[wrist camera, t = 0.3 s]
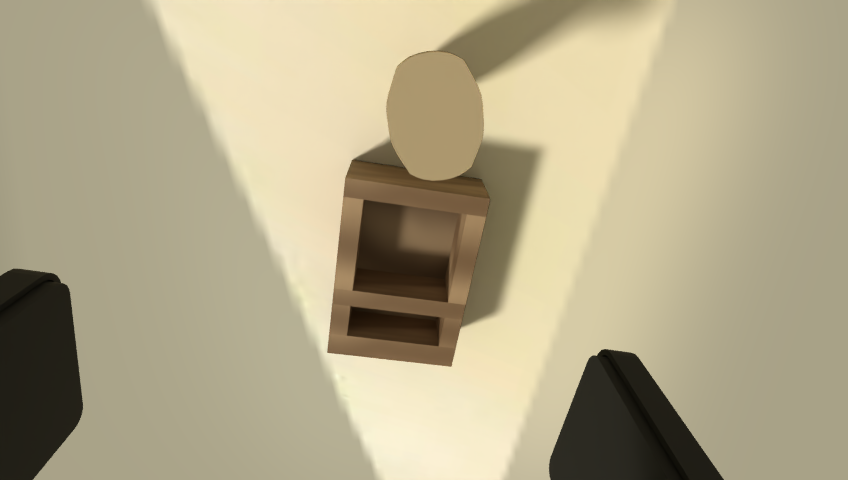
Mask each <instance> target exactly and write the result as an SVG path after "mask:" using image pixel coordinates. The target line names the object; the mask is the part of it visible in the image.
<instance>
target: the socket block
mask: <svg viewBox="0 0 848 480" xmlns="http://www.w3.org/2000/svg"><path fill="white" fill-rule="evenodd" d="M489 203H490V197H489V195H488V193H487V191H486V189H485V186H484V184H483V182H482V180H481V179H476V178H469V177H463V176H456V177H454V178H451V179H445V180H435V181H431V180H423V179H420V178H417V177H415V176H413V175H411V174H410V173H409V172H408V170H407V169H406V168H403V167H397V166H390V165H383V164H377V163H370V162H363V161H357V160H352V162H351V164H350V167H349V170H348V172H347V175H346V178H345V187H344V196H343V206H342V216H341V225H340V235H339V245H338V254H337V264H336V274H335V283H334V293H333V303H332V312H331V322H330V332H329V341H328V351H327V353H335V354H344V355H353V356H362V357H370V358H379V359H388V360H397V361H406V362H415V363H424V364H433V365H441V366H450V367H451V366H452V361H453V357H454V353H455V349H456V344H457V340H458V336H459V331H460V327H461V323H462V318H463V314H464V310H465V306H466V301H467V297H468V293H469V288H470V284H471V280H472V276H473V271H474V267H475V263H476V258H477V254H478V250H479V246H480V241H481V237H482V233H483V228H484V224H485V220H486V216H487V211H488V207H489Z"/></svg>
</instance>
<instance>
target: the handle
mask: <svg viewBox="0 0 848 480" xmlns="http://www.w3.org/2000/svg"><path fill="white" fill-rule="evenodd" d="M386 110H387V119H388V127H389V134H390V139H391V142H392V145H393V148H394V150H395V152H396V153H397V155H398V157H399V158H400V160H401V161H402V163H403V164H404V166H405V167H406V169H407V170H408V172H409V173H410V174H411V175H413V176H415V177H417V178H420V179H423V180H431V181H435V180H445V179H451V178H454V177H456V176H459V175H461V174H462V173H464V172H466V171H467V170H468V169H469V168H471V167H472V164H473V162H474V159H475V157H476V155H477V152H478V150H479V147H480V144H481V141H482V137H483V131H484V119H483V103H482V97H481V93H480V90H479V88H478V85H477V83H476V81H475V79H474V77H473V76H472V74H471V72H470V70H469V68H468V67H467V65H466V63H465V61H464V60H463V59H461V58H460V57H458V56H456V55H454V54H451V53H449V52H443V51H427V52H422V53H418V54H415V55H413V56H410V57H408V58H407V59H405V60H404V61H403V62H401V63H400V64H399V65H398V66H397V68H396V71H395V74H394V78H393V81H392V84H391V87H390V91H389V94H388V99H387V108H386Z"/></svg>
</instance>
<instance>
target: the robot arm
mask: <svg viewBox="0 0 848 480" xmlns="http://www.w3.org/2000/svg"><path fill="white" fill-rule="evenodd" d="M82 410H83V402H82V393H81V385H80V376H79V367H78V359H77V350H76V341H75V333H74V325H73V315H72V307H71V298H70V292H69V288H68V287H67V285H65V284H63V283H61V282H60V279H59V278H58V276H57V275H55V274H52V273H45V272H39V271H31V270H24V269H12V270H10V271H7V272H6V273H4V274H3V275H1V276H0V480H33V479H34V477H35V476H36V475H37V474H38V473H39V471H40V470H41V469H42V468H43V467H44V465H45V464H46V463H47V461H48V460H49V459H50V458H51V457H52V456H53V454H54V453H55V452H56V451H57V449H58V448H59V447H60V446H61V445H62V443H63V442H64V441H65V440H66V438H67V437H68V436H69V435H70V434H71V432H72V431H73V430H74V429H75V427H76V426H77V424H78V422H79V420H80V418H81V415H82ZM549 474H550V478H551V480H724V479H723V478H722V477H721V475H720V474H719V472H718V471H717V469H716V468H715V466H714V465H713V464H712V462H711V461H710V459H709V458H708V456H707V455H706V454H705V452H704V451H703V449H702V448H701V446H700V445H699V444H698V442H697V441H696V439H695V438H694V436H693V435H692V434H691V432H690V431H689V429H688V428H687V426H686V425H685V424H684V422H683V421H682V419H681V418H680V416H679V415H678V414H677V412H676V411H675V409H674V408H673V406H672V405H671V404H670V402H669V401H668V399H667V398H666V396H665V395H664V394H663V392H662V391H661V389H660V388H659V386H658V385H657V384H656V382H655V381H654V379H653V378H652V376H651V375H650V374H649V372H648V371H647V369H646V368H645V366H644V365H643V363H642V362H641V361H640V359H639V358H638V357H637V356H636V355H635V354H633V353H629V352H622V351H614V350H607V349H604V350H601V351H600V352H599V353H598V355H597V356H591V357H590V358H589V360H588V362H587V364H586V367H585V370H584V372H583V375H582V378H581V380H580V383H579V385H578V388H577V390H576V393H575V396H574V398H573V401H572V403H571V406H570V409H569V411H568V414H567V417H566V419H565V421H564V424H563V427H562V429H561V432H560V435H559V437H558V440H557V442H556V445H555V448H554V450H553V453H552V455H551V459H550V464H549Z"/></svg>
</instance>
